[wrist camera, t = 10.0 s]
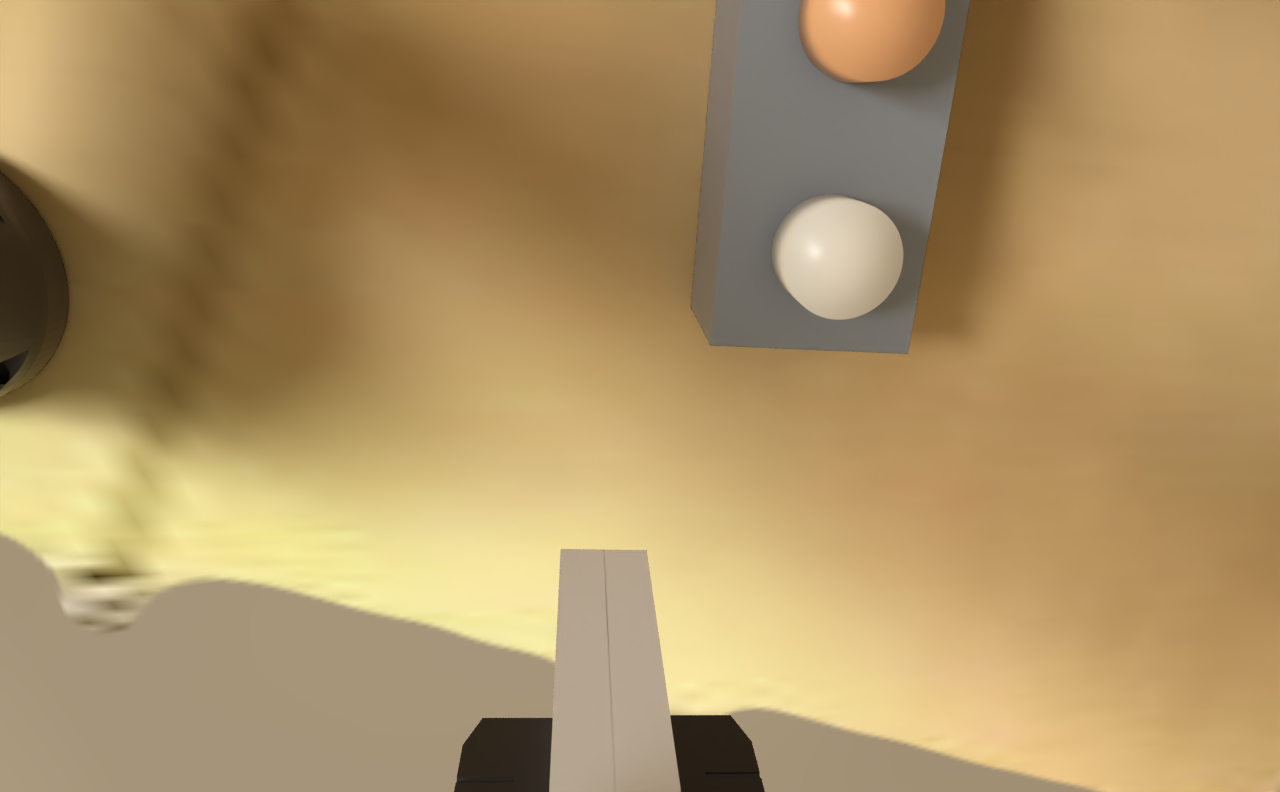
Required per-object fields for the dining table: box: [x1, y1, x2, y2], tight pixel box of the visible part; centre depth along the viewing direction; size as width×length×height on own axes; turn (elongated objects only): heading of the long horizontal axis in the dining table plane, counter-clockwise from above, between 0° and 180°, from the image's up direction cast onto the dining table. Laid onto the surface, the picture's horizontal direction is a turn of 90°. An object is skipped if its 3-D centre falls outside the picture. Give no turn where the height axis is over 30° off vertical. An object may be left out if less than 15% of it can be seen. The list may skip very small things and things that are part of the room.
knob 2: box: [771, 194, 903, 320], centre depth 41 cm, size 5×5×11 cm
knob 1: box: [798, 0, 945, 83], centre depth 38 cm, size 5×5×11 cm
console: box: [691, 0, 970, 354], centre depth 42 cm, size 10×20×8 cm, turn 176°
